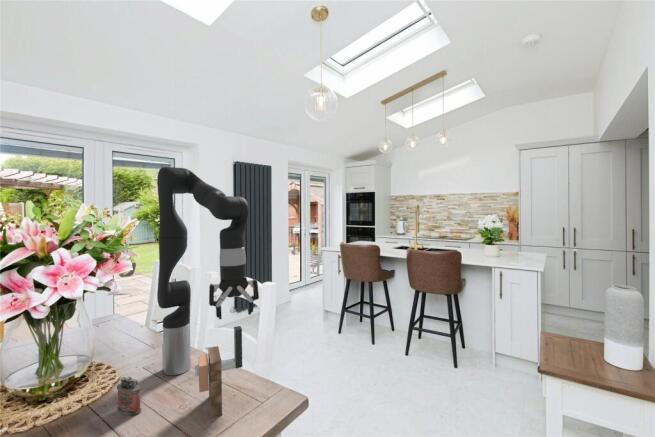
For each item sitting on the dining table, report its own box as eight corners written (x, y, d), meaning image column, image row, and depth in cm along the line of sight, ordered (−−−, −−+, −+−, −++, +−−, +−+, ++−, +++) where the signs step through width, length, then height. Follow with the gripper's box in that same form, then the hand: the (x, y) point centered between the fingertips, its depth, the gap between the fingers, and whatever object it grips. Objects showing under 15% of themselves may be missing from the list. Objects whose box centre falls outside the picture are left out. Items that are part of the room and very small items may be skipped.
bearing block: (211, 417, 90) (210, 363, 89) (209, 396, 100) (208, 347, 100) (222, 415, 91) (221, 361, 91) (218, 394, 101) (218, 346, 101)
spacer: (199, 392, 90) (199, 366, 90) (198, 379, 97) (198, 355, 97) (208, 390, 91) (208, 364, 91) (207, 377, 98) (207, 353, 98)
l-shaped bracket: (195, 377, 92) (194, 336, 91) (195, 372, 94) (194, 332, 94) (242, 367, 97) (241, 329, 97) (240, 363, 100) (240, 325, 99)
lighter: (114, 411, 93) (113, 378, 93) (125, 404, 96) (124, 373, 96) (133, 417, 90) (133, 383, 90) (144, 410, 93) (143, 377, 93)
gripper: (254, 259, 100) (256, 309, 100) (207, 263, 94) (209, 316, 95) (259, 262, 93) (261, 316, 93) (207, 267, 87) (210, 324, 88)
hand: (235, 316), depth 94 cm, fingers open, 8 cm apart
